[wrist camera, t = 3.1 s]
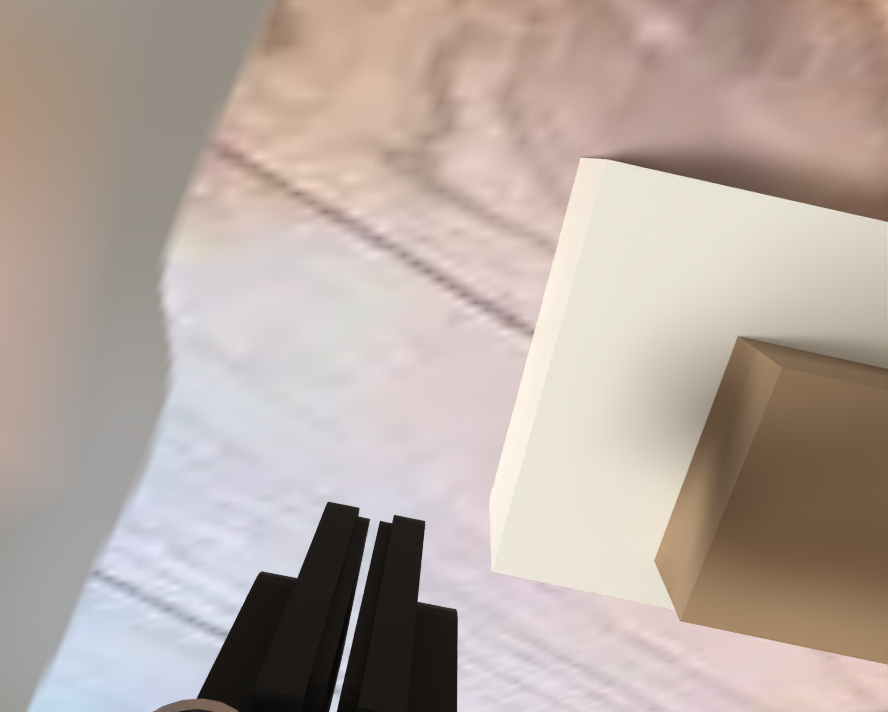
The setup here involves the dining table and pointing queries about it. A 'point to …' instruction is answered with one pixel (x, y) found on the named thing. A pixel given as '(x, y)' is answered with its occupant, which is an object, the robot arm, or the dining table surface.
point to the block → (787, 505)
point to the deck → (660, 358)
